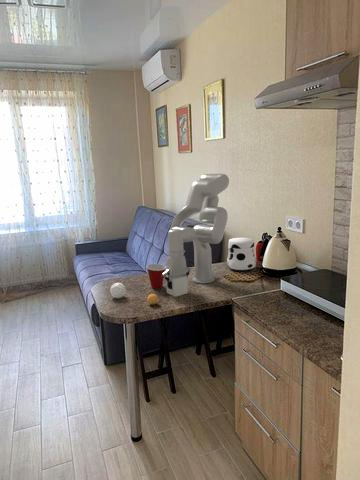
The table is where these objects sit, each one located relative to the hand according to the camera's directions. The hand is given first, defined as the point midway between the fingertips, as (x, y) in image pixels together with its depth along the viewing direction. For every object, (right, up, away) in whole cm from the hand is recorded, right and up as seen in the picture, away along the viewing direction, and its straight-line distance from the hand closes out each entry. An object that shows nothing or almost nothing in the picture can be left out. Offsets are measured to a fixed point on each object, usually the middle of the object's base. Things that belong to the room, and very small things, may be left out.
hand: (177, 286), depth 188 cm
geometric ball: (-30, -5, -2) cm, 30 cm away
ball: (-12, -4, -13) cm, 18 cm away
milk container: (+39, +6, +37) cm, 54 cm away
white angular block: (0, -3, +1) cm, 3 cm away
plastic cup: (-11, -2, +10) cm, 15 cm away
